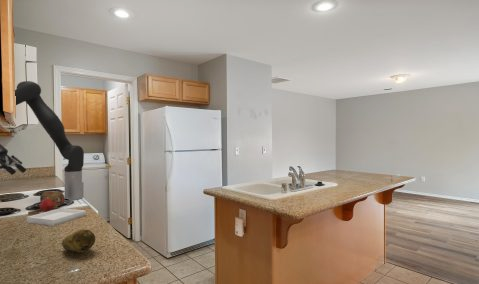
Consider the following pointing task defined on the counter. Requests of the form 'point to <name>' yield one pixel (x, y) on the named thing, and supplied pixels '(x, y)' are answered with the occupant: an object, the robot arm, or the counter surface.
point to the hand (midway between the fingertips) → (19, 172)
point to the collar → (39, 211)
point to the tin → (53, 197)
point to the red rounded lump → (46, 205)
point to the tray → (56, 216)
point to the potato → (79, 241)
